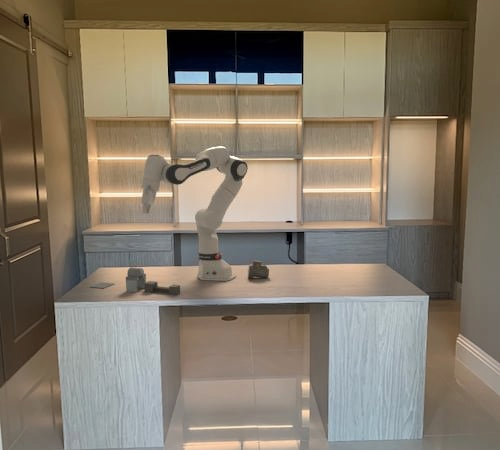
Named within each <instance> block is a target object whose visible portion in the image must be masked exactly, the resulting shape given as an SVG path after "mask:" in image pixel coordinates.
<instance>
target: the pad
mask: <svg viewBox="0 0 500 450" xmlns="http://www.w3.org/2000/svg"><path fill="white" fill-rule="evenodd" d="M114 285H115V283H112V282H99V283H95V284H93V285H90V286H89V288H95V289H102V290H103V289H107V288H109V287H111V286H114Z"/></svg>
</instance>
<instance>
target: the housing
mask: <svg viewBox="0 0 500 450" xmlns="http://www.w3.org/2000/svg"><path fill="white" fill-rule="evenodd" d="M126 274H127V276H125V288H126V289H125V290H126V291H125V292H131V293H137V292H138V288H140V289H144V283H146V282H147V273H145V270H144V268H142V267H135V266H134V267H133V266H131V267H129V268H128V270H127V273H126Z"/></svg>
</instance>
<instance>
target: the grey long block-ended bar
mask: <svg viewBox="0 0 500 450" xmlns="http://www.w3.org/2000/svg"><path fill="white" fill-rule="evenodd" d="M143 289H144V290H143V291H144V292H145V293H151V294H152V293H153V294H154V293H157V294H168V295H171V294H173V295H174V296H177V295H179V294H181V285H180V284H171V285H169V286H158V281H155V280H154V281H153V280H149V281H146V283H144V288H143ZM173 295H172V296H173Z"/></svg>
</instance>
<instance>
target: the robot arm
mask: <svg viewBox="0 0 500 450" xmlns="http://www.w3.org/2000/svg"><path fill="white" fill-rule="evenodd" d="M144 164H145V165H144V169H143V172H144V174H143V177H142V180H141V185H140V186H141V187H140V189H142V190H143V191H142V195H141V196H142V197H141V199H140V200H141V201H140V203H141V204H142V214H150V210H151V207H152V205H154V203H155V201H156V197H157V194H158V193H157V192H160V187H161V186H160V185H161V182H163V183H166V184H173V185H178V186H179V185H182V184H184V183H185V182H186V181H187V180H188V179H189V178H190V177H192V176H194V175H197V174H199V173H201V172H207V171H211V170H214V169H216V170H217V171H218V172H220V173H221V174H223V175H224V176H225V177H224V180H223V181H221V184H220V185H219V186H218V188H217V189H216V190H215V192H214V193H213V195H212V196H211V200H210V201H209V202H210V203H209V204H208V206H207V207H206V208H202V209H199V210H198V211H196V213H195V215H194V219H195V223H196V229H197V230H196V231H197V235H198V250H199V251H198V262H199V263H198V270H197V271H198V272H197V275H196V277H197V279H200V281H214V282H215V281H216V282H217V281H218V282H219V281H220V282H228V281H231V280H233V279H235V278H237V275H236V273H233V270H232V269H233V268H232V266H231V265H230V264H229V263H227V261H225V260H224V259H222V256H223V253H220V251H219V237H218V234H217V229H219V228H220V227H221V226H222V224H223V219H224V216H225V215H226V213H227V210H228V209H229V207H230V205H231V204H232V202H233V201H234V199H236V197H237V195H238V193H239V192H240V190H241V188H242V186H243V179H244V178H245V176H246V175H247V172H248V168H249V167H248V164H247V162H246V161H245V160H244V159H241V158H238V157H235V156H234V155H233V156H231V155H230V153H229V150H228V149H227V148H226V147H225V146H216V147H215V146H214V147H210V148H206V149H204V150H202V151H201V152H198V153H197V154H196V156H195V160H194V161H191V162H189V163H186V164H178V163H177V164H176V163H175V164H172V163H170V162H169V161H167V159H166V158H165V157H164V156H163V155H162V154H149V155H148V156H147V157H146V160H145V163H144Z"/></svg>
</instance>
